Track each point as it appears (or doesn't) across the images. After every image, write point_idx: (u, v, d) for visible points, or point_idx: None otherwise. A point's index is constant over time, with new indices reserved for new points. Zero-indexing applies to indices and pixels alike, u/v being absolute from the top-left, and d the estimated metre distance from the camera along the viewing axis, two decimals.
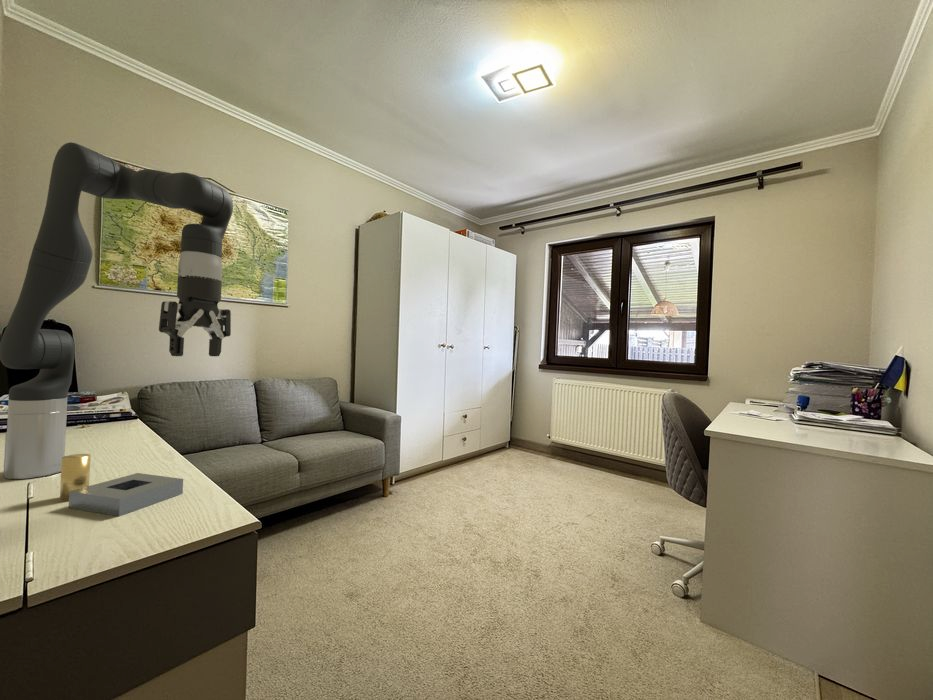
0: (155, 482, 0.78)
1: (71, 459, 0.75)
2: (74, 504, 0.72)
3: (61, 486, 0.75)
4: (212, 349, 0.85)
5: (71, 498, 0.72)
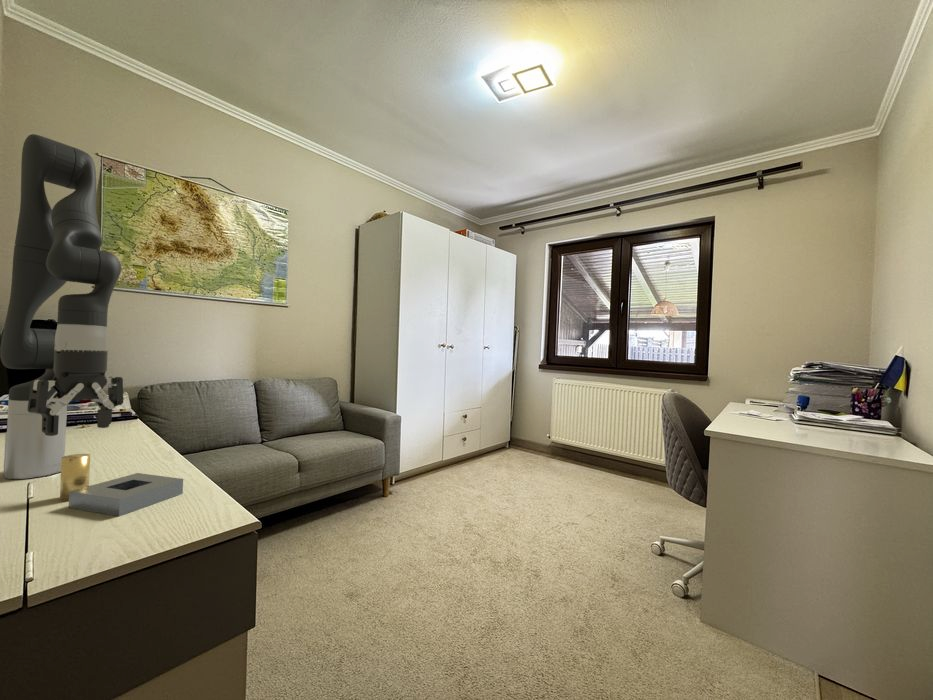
0: (155, 482, 0.78)
1: (71, 459, 0.75)
2: (74, 504, 0.72)
3: (61, 486, 0.75)
4: (100, 420, 0.81)
5: (71, 498, 0.72)
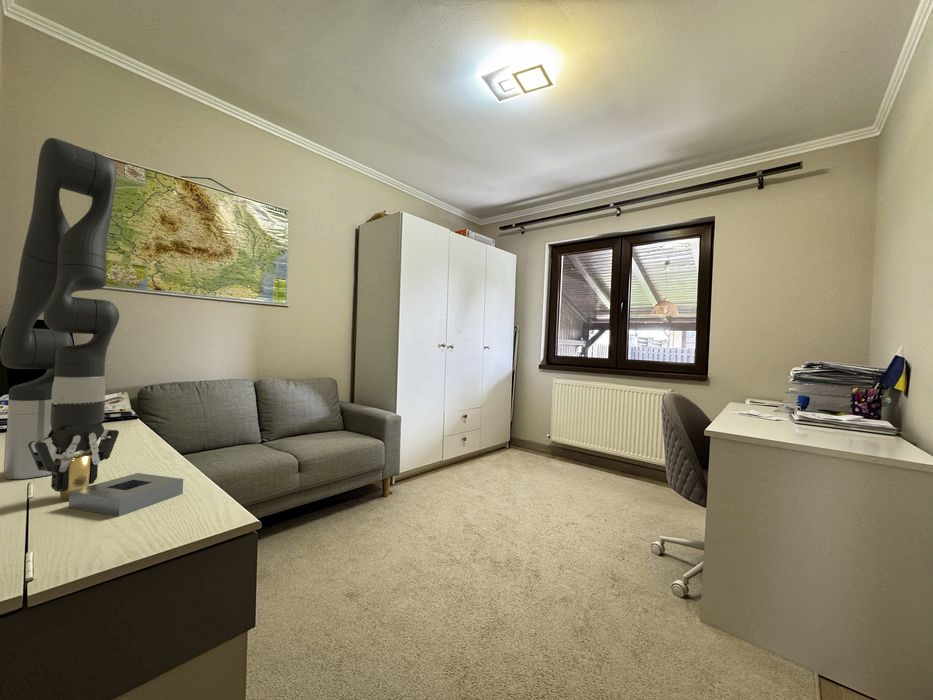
0: (155, 482, 0.78)
1: (72, 459, 0.75)
2: (74, 504, 0.72)
3: None
4: None
5: (71, 498, 0.72)
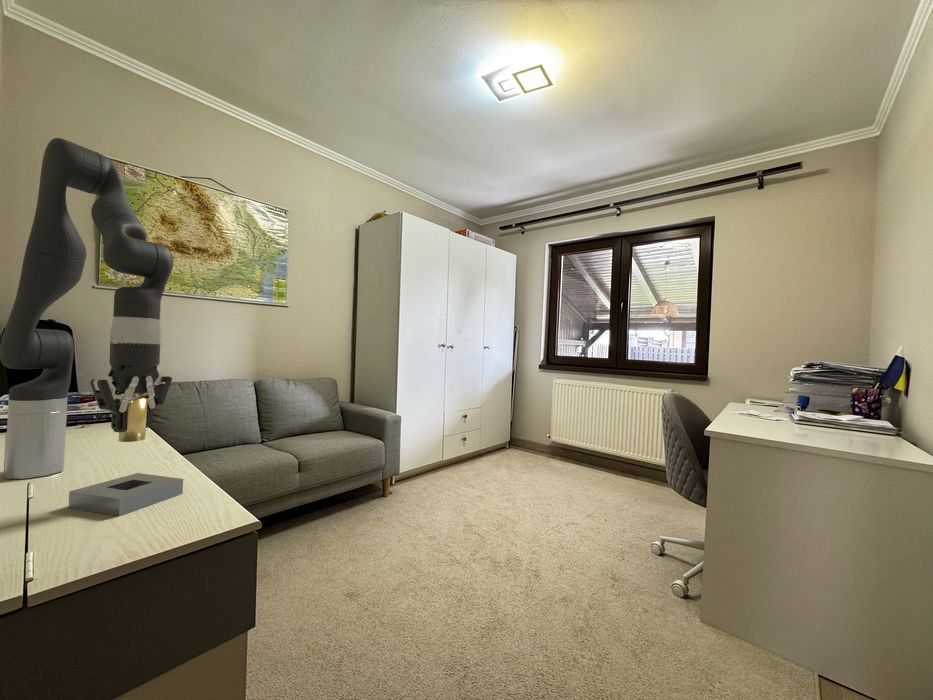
0: (155, 482, 0.78)
1: (131, 400, 0.75)
2: (74, 504, 0.72)
3: None
4: None
5: (71, 498, 0.72)
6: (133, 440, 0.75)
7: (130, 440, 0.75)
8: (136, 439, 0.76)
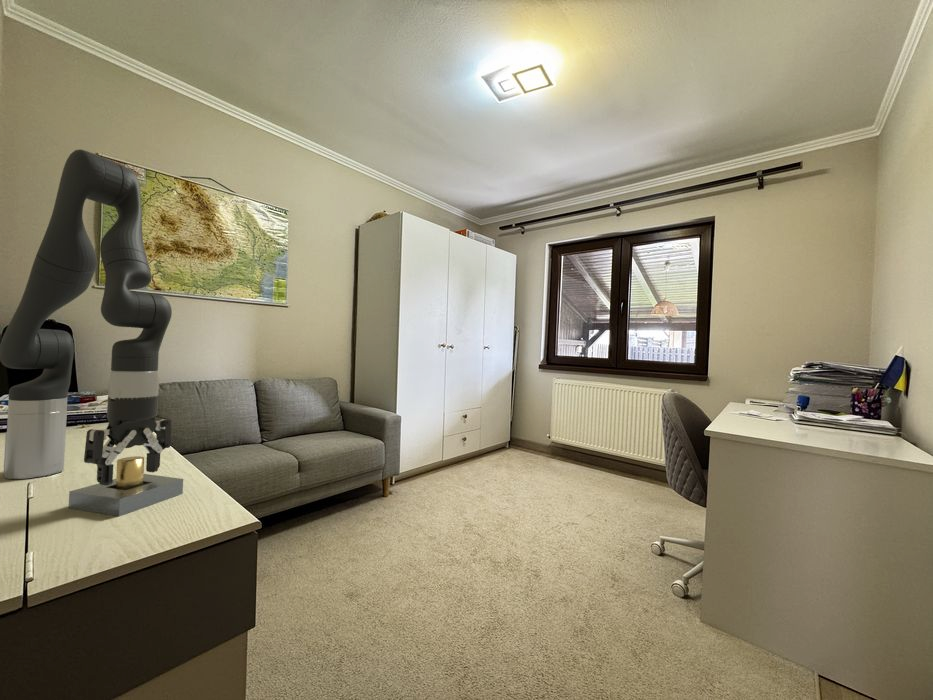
0: (155, 482, 0.78)
1: (127, 462, 0.75)
2: (74, 504, 0.72)
3: None
4: (149, 464, 0.80)
5: (71, 498, 0.72)
6: None
7: None
8: None
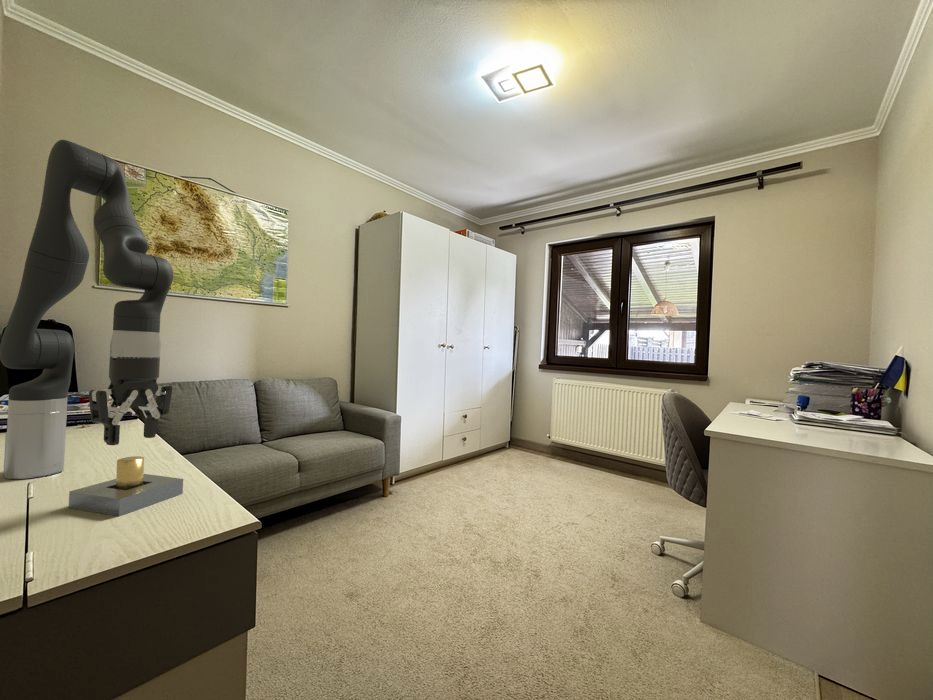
0: (155, 482, 0.78)
1: (127, 462, 0.75)
2: (74, 504, 0.72)
3: None
4: (147, 430, 0.80)
5: (71, 498, 0.72)
6: None
7: None
8: None
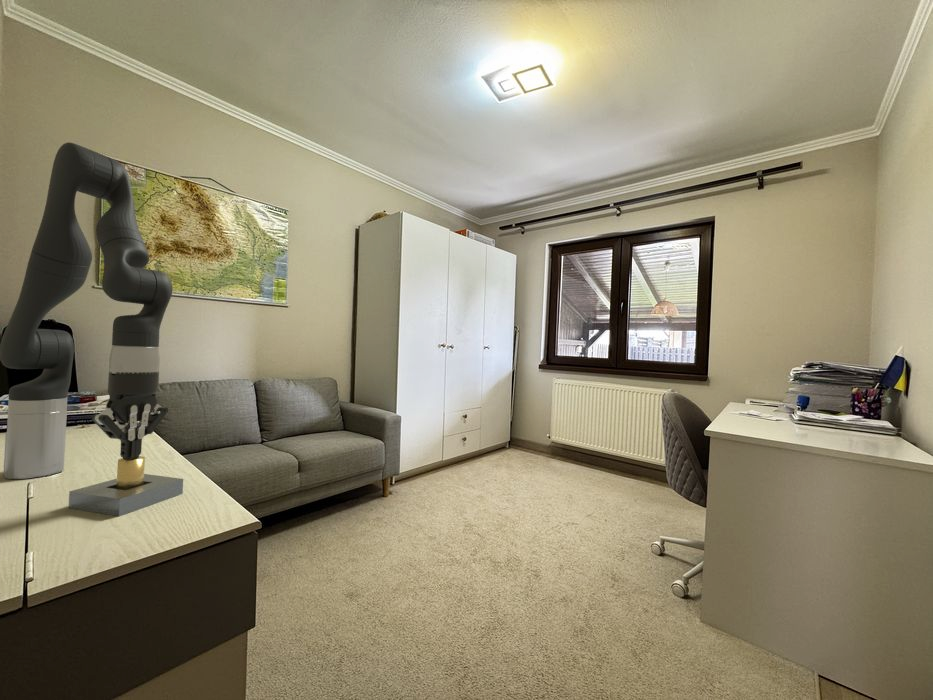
0: (155, 482, 0.78)
1: (128, 461, 0.75)
2: (74, 504, 0.72)
3: None
4: None
5: (71, 498, 0.72)
6: None
7: None
8: None
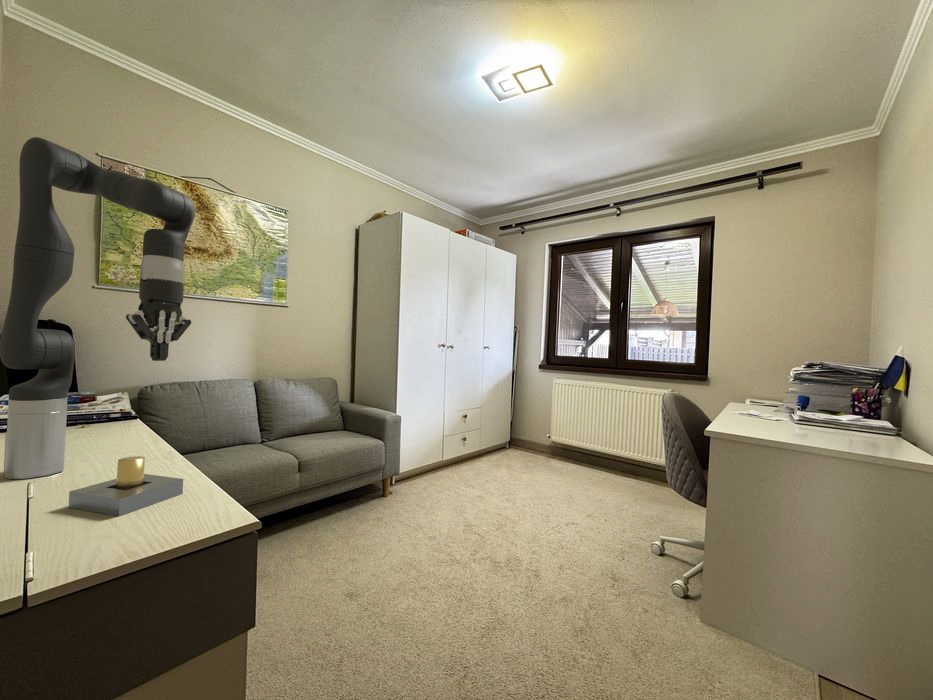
0: (155, 482, 0.78)
1: (128, 462, 0.75)
2: (74, 504, 0.72)
3: None
4: None
5: (71, 498, 0.72)
6: None
7: None
8: None
